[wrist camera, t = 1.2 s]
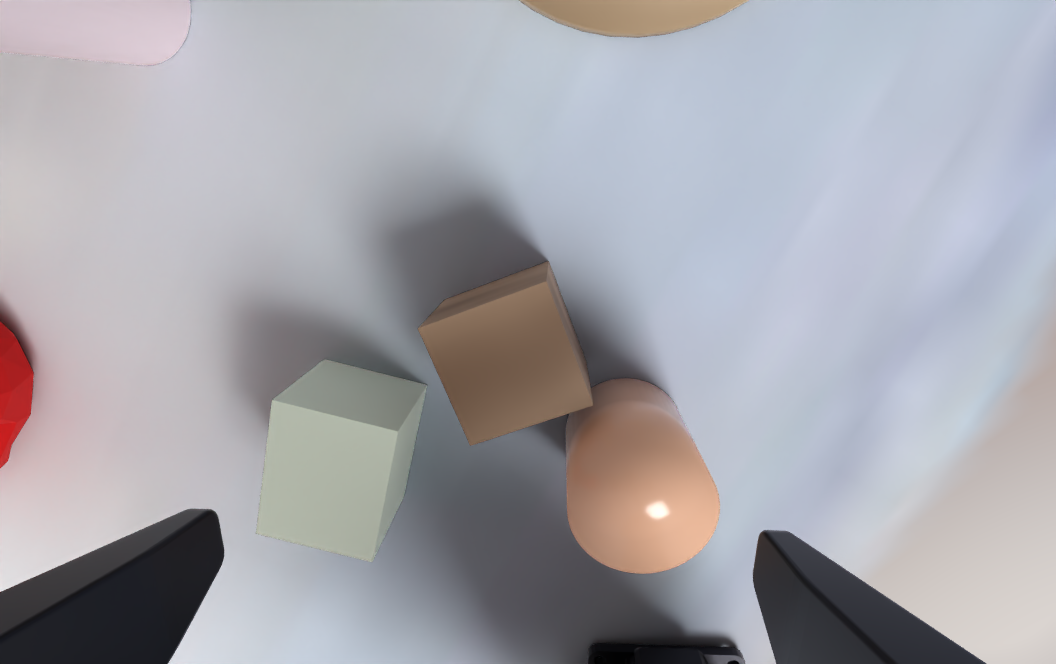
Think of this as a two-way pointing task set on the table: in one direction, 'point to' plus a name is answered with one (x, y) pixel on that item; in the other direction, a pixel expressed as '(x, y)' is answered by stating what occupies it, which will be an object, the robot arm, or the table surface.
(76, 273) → the table surface
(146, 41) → the smoothie
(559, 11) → the gold metal coaster
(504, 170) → the table surface
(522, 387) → the walnut block
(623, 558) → the peach rounded capsule
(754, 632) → the table surface
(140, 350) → the table surface
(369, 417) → the sage block
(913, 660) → the robot arm
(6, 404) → the water bottle
